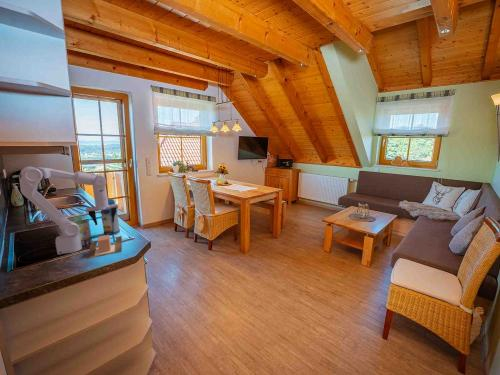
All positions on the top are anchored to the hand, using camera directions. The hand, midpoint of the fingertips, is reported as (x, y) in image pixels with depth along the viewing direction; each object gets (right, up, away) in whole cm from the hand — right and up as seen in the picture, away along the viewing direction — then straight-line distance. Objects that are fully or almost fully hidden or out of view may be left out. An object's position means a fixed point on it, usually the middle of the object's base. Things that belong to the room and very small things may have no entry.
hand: (105, 223), depth 126 cm
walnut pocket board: (+4, -12, -6) cm, 14 cm away
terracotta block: (+6, -11, -10) cm, 16 cm away
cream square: (+7, -11, -11) cm, 17 cm away
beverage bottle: (-4, -8, +13) cm, 16 cm away
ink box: (-15, -10, +4) cm, 19 cm away
